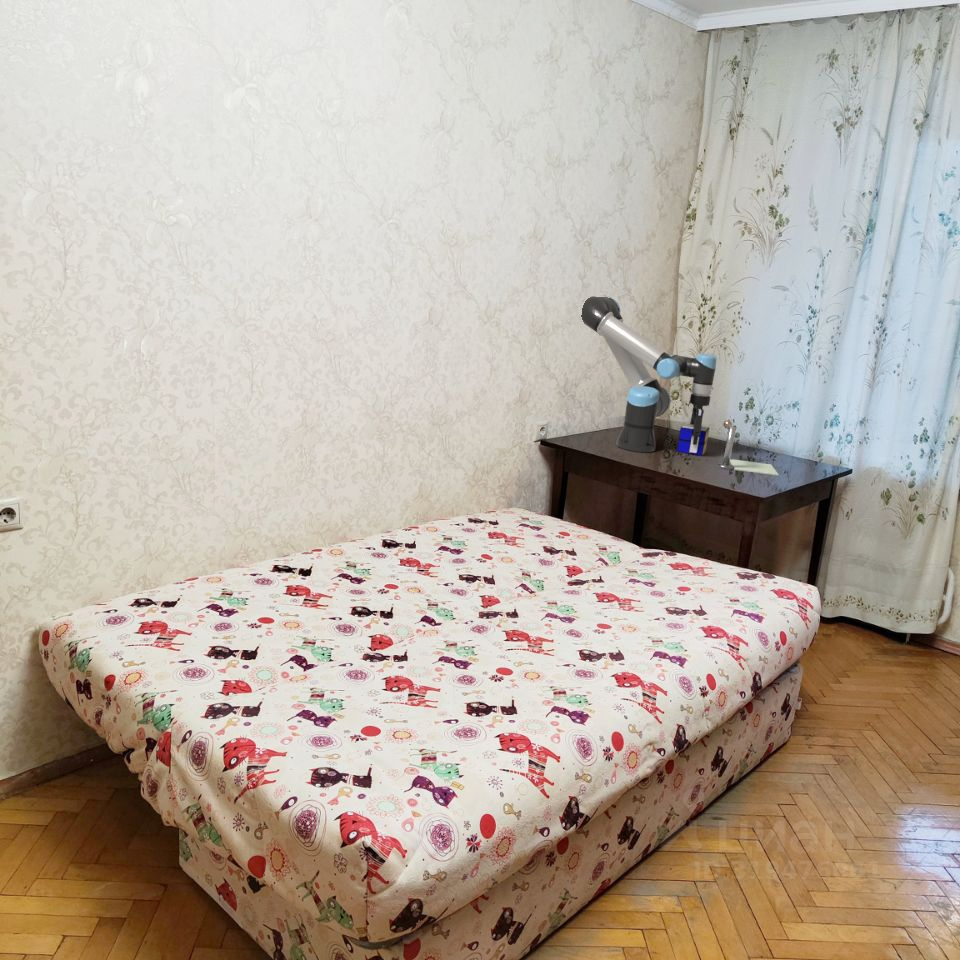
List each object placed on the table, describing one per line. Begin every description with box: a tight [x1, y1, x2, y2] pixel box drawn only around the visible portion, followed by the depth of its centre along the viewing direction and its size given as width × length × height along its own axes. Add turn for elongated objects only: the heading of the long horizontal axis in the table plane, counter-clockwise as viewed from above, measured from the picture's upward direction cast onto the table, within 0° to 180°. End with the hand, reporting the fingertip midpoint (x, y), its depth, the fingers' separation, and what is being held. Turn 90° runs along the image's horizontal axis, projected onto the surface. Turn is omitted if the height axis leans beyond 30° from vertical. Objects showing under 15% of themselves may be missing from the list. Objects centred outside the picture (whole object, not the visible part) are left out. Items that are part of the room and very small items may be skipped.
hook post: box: [716, 419, 737, 471], centre depth 335 cm, size 6×17×16 cm, turn 172°
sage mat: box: [729, 458, 779, 477], centre depth 336 cm, size 16×16×1 cm
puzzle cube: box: [676, 422, 711, 457], centre depth 351 cm, size 10×10×10 cm
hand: (691, 449), depth 352 cm, fingers closed on puzzle cube, 11 cm apart
